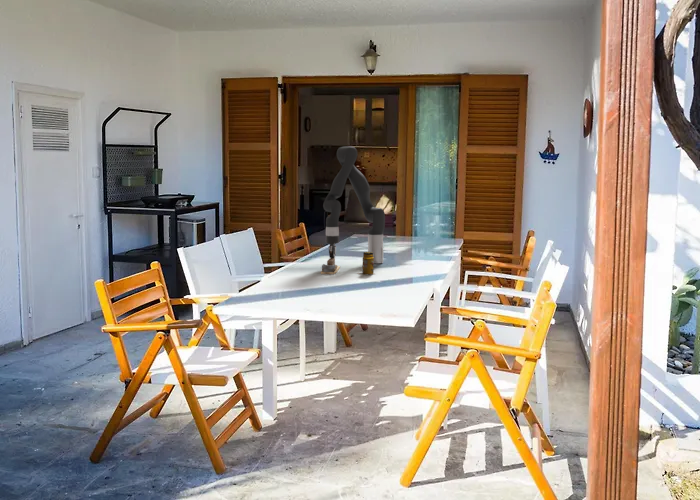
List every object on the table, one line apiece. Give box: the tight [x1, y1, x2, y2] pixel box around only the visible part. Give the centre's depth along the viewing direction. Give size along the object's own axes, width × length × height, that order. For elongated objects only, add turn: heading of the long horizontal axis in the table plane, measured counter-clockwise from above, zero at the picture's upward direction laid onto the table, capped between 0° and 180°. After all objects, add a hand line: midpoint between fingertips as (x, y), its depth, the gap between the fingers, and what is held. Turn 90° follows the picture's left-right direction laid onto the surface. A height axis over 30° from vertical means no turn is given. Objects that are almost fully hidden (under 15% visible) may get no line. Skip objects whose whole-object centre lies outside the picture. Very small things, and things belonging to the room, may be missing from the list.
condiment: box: [356, 251, 375, 276], centre depth 379 cm, size 7×8×12 cm
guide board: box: [320, 263, 341, 275], centre depth 391 cm, size 8×22×4 cm, turn 174°
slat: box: [326, 257, 336, 265], centre depth 392 cm, size 10×3×5 cm, turn 174°
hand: (332, 264), depth 400 cm, fingers closed
